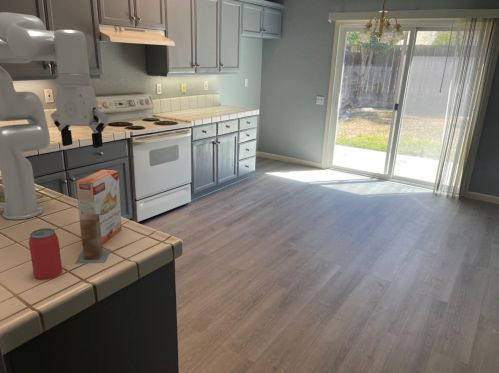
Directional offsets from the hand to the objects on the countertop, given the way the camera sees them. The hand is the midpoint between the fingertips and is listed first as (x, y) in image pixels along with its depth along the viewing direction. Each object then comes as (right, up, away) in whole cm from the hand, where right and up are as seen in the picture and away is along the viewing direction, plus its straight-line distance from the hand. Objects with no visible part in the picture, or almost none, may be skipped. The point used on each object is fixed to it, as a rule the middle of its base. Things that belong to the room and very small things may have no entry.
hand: (82, 146), depth 104 cm
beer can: (-7, -34, -5) cm, 35 cm away
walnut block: (+1, -31, +4) cm, 31 cm away
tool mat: (+1, -31, +4) cm, 32 cm away
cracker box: (-1, -28, +16) cm, 32 cm away
